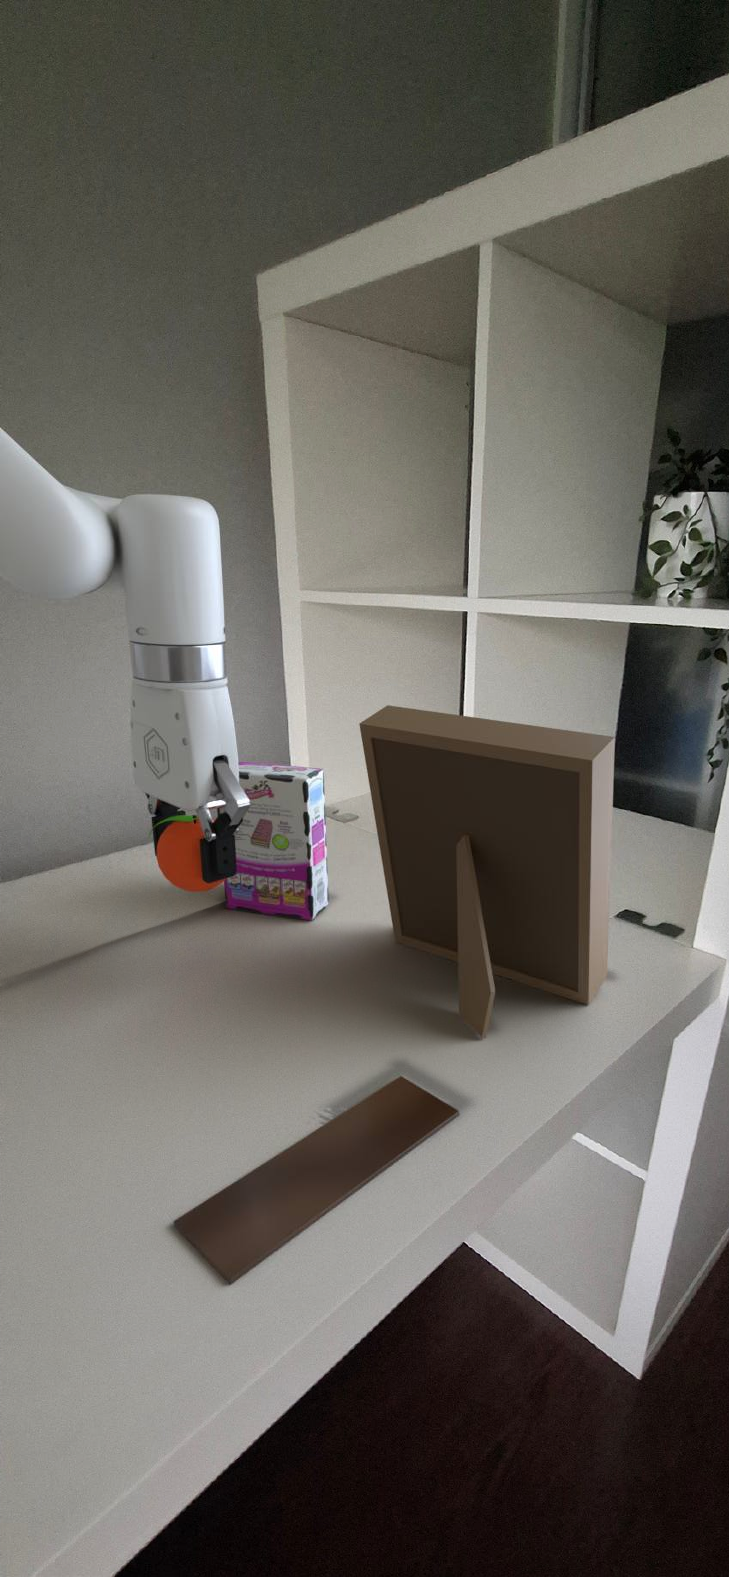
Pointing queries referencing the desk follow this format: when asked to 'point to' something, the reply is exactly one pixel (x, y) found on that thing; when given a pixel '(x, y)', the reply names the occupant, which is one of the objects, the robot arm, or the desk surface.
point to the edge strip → (311, 1177)
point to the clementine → (183, 854)
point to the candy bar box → (281, 843)
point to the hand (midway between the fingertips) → (195, 864)
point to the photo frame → (495, 848)
